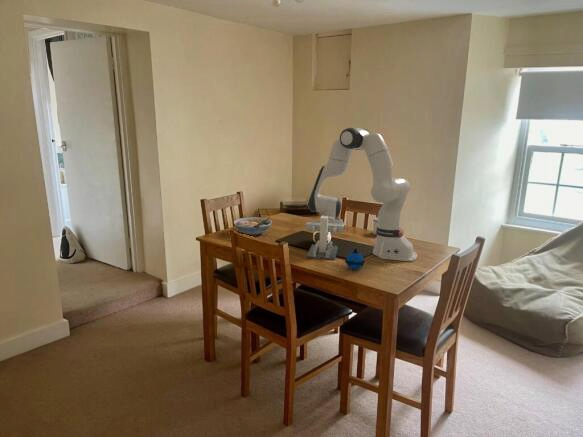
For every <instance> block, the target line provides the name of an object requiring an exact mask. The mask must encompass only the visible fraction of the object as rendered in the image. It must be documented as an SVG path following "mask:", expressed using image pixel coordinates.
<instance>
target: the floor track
mask: <svg viewBox="0 0 583 437" xmlns="http://www.w3.org/2000/svg"><path fill="white" fill-rule="evenodd" d="M319 243H320V239H318V240H317V242H316V243H315V244H314V243H313V244H311V246H310V247H309V251H308V253H307V255H306V259H316V260H317V259H318V260H331V261H335V260H336V257H337V252H338V249H339V246H338V245H333V241H332V240H330V241H329V243H328V244H327V251H326V253H324V252H319Z"/></svg>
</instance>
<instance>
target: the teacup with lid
mask: <svg viewBox="0 0 583 437" xmlns="http://www.w3.org/2000/svg"><path fill="white" fill-rule="evenodd" d="M372 226H373V228H372V234H373V235H375V236H376V228H377V226H378V216H377V217H374V218H373V225H372Z"/></svg>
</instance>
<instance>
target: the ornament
mask: <svg viewBox="0 0 583 437" xmlns="http://www.w3.org/2000/svg"><path fill="white" fill-rule="evenodd" d="M364 263H365V258H364V256H363V255H362V254H361V252H358V249H357V248H354V250H353V251H352V252H350V253H349V254H347V256H346V257H345V264H346V266H347V267H348V268H349V269H351V270H353V271H356V270H359V269H361V268H362V267H363V266H364Z"/></svg>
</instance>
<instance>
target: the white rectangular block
mask: <svg viewBox="0 0 583 437" xmlns="http://www.w3.org/2000/svg"><path fill="white" fill-rule="evenodd" d="M319 220H320V231H319V241H320V243H319V252H324V253H326V251H327V246H328V235H329V234H328V233H329V232H328V216H322V215H321V216H320V218H319Z"/></svg>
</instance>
